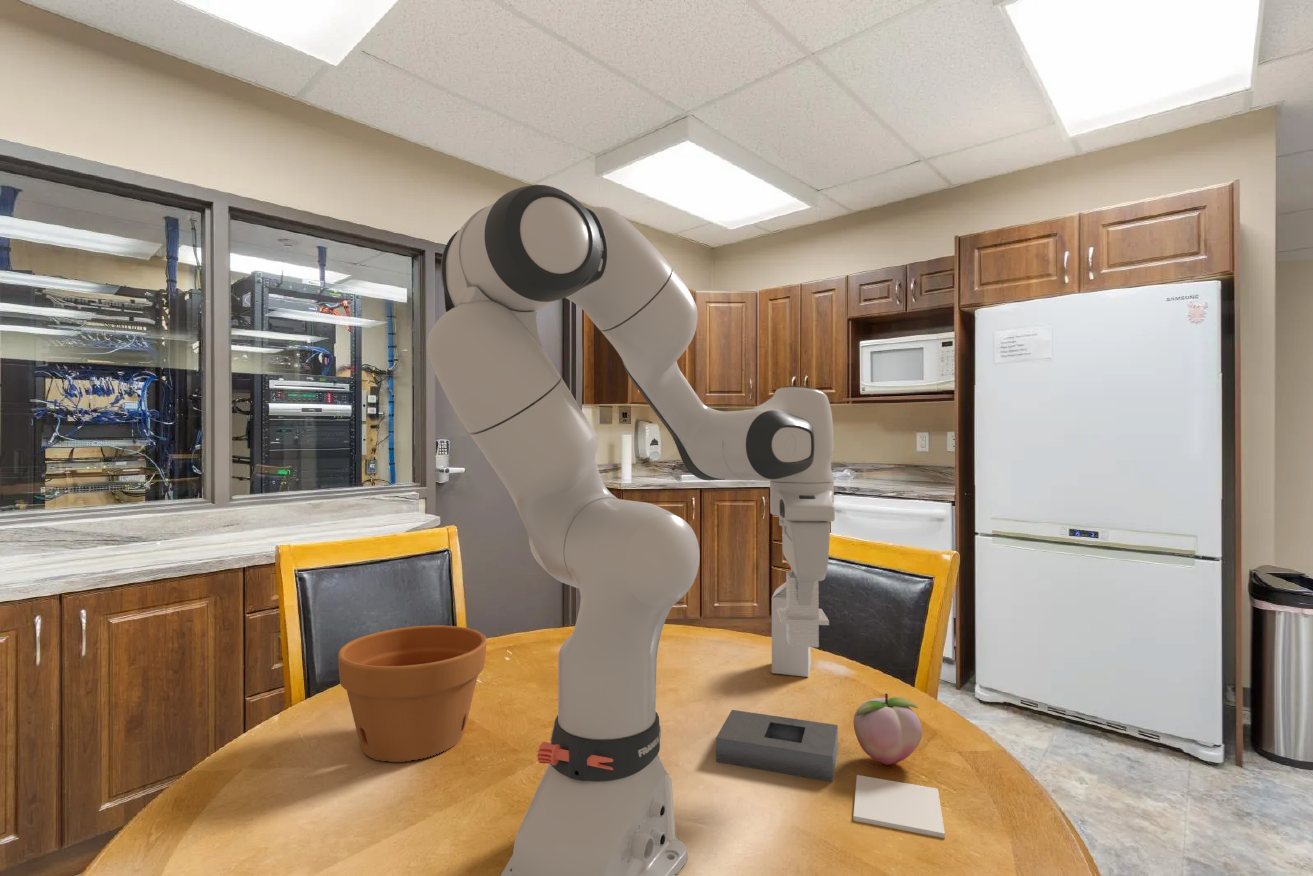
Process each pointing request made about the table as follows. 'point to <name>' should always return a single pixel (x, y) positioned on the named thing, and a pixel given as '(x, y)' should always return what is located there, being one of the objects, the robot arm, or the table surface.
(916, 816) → the pad
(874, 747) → the decorative fruit
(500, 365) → the robot arm
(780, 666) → the milk carton
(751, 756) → the post block
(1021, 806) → the table surface
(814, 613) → the peg
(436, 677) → the flower pot
